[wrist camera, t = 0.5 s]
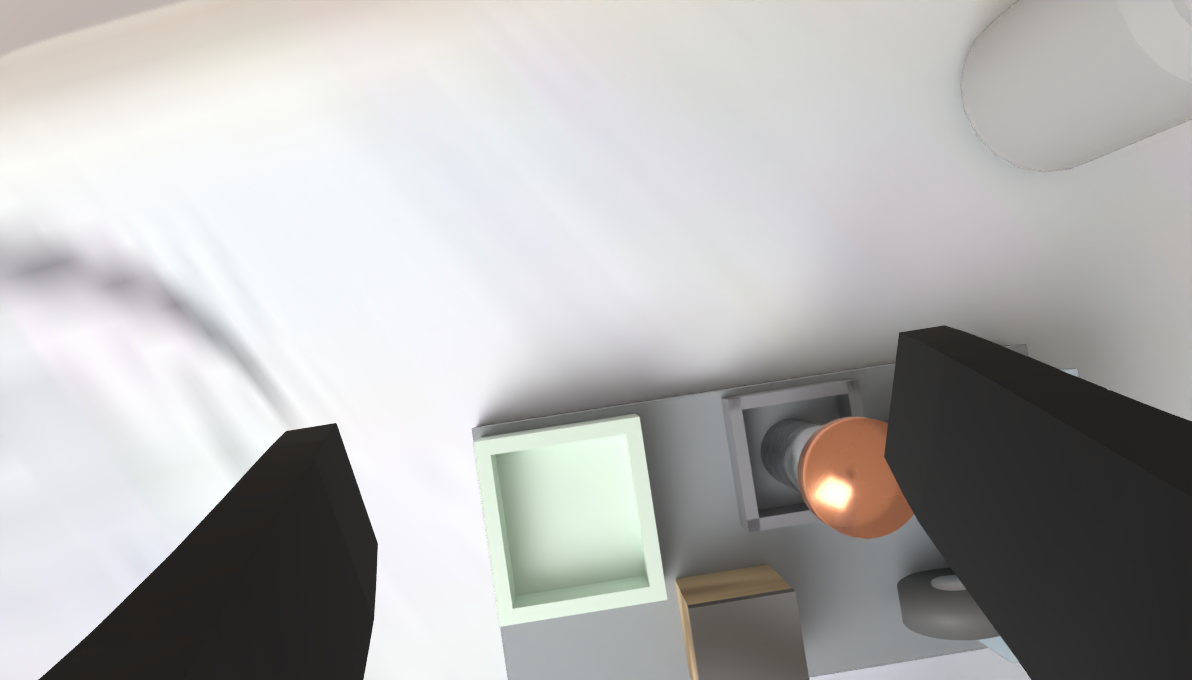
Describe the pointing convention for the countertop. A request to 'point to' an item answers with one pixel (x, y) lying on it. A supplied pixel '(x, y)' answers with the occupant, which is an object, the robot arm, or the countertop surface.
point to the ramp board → (741, 538)
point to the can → (1078, 78)
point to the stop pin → (839, 473)
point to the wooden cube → (741, 626)
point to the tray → (569, 519)
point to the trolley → (948, 606)
